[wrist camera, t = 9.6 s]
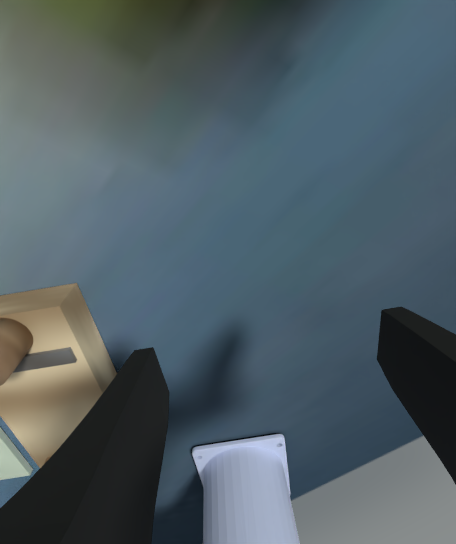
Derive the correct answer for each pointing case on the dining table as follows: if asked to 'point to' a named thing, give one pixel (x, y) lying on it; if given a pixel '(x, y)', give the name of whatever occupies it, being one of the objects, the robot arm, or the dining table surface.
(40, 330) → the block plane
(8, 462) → the mat
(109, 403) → the robot arm
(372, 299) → the dining table surface
